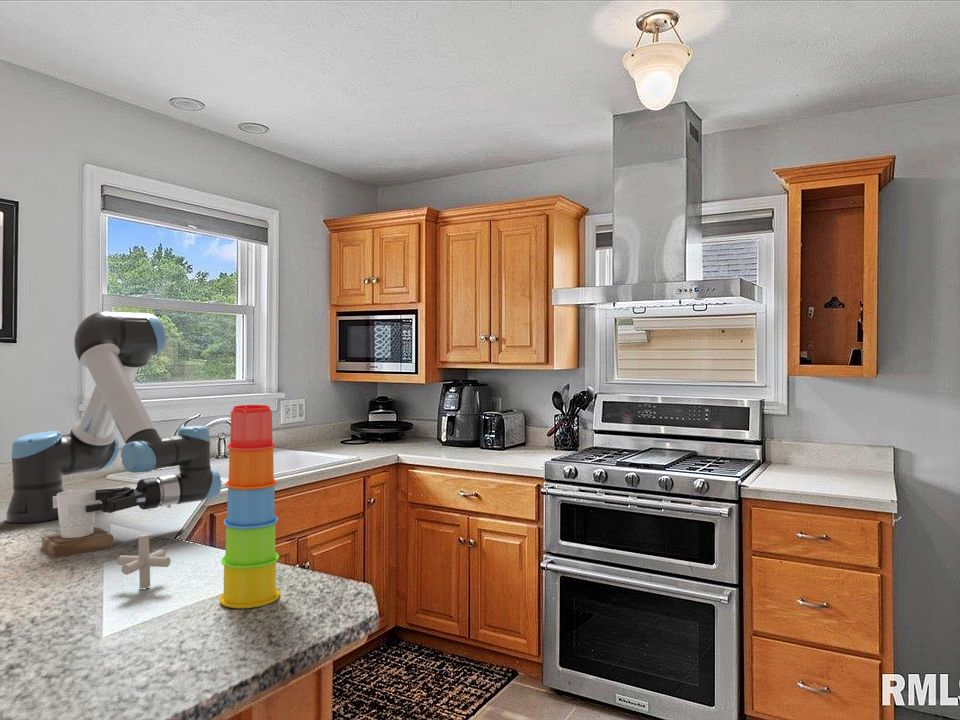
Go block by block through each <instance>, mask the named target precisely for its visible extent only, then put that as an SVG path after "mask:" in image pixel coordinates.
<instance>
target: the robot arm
mask: <svg viewBox="0 0 960 720" xmlns="http://www.w3.org/2000/svg"><path fill="white" fill-rule="evenodd" d="M166 337H167V336H166V331H165V326H164V324H163V323H162V321H161V320H160V319H159V317H157V316H156V315H154V314H152V313H146V312H145V313H144V312H122V311H121V312H118V311H98V312H94V313H92V314H90V315H88V316H86V317H85V318H84V319H83V320H82V321H81V323H79V325H78V327H77V328H76V331H75V334H74V340H73V342H74V343H73V345H74V352H75V354H76V357H77V359H78V361H79V364H80V365H81V366H82V367H84V368H86V369H88V371H89V373H90V375H91V377H92V380H93V381H94V383H95V385H94V389H93V391H92V392H91V396H90V399H89V400H88V404H87V406H86V408H85V410H84V414H83V416H82V419H81V420H78V421H76V422H75V423H74V424H73V425H72V427H71V429H70V430H71V431H70V432H69V433H68V434H61V432H60V430H47V431H43V432H40V431H39V432H36V433H35V432H34V433H29V434H25V435H23V436H20V437H18V438H16V439H15V440H14V441H13V442H12V447H11V448H12V449H11V455H10V456H11V463H12V465H11V466H12V486H13V491H12V495H11V498H10V502H9V504H8V507H7V510H6V514H5V515H6V517H5V518H6V523H10V524H28V523H39V522H45V521H52V520H58V519H59V517H58V506H57V494H58V493H60V492H64V491H65V490H64V488H63V477H64V476H67V475H69V476H70V475H76V474H83V473H89V472H98V471H100V470H104V469H107V468H109V467H110V466H112V465H113V463H114V462H115V461H116V460H117V457H118V455H119V450H120V449H119V448H118V447H119V446H120V444H119V439H118V437H117V435H116V431H115V430H114V427H115V426H116V428H117V429H118V432H119V433H120V435H121V437H122V439H123V441H124V443H125V444H124V445H123V447H122V449H121V453H120V458H121V459H122V460H121V464H122V466H123V467H124V468H125V470H126V471H127V472H130V473H134V474H135V473H148V472H152V471H155V470H160V469H164V468H165V469H166V468H173V467H179V469H178V471H179V473H178V474H169V475H162V476H156V477H150V478H141V479H139V480H138V481H137V484H136V487H135V488H131V487H130V486H129V487H128V486H124V487H117V488H100V489H95V490H96V497H95V501H89V502H83V503H76V504H69V505H68V517H74V516H80V515H86V514H93V513H95V514H99V513H107V514H112V513H114V512H118V511H123V510H126V509H130V508H134V507H139V508H140V509H141V510H143V511H145V510H151V509H156V508H158V507H160V508H163V507H166V508H168V509H169V508H171V507H172V505H174V506H175V505H180V504H188V503H194V502H203V501H206V500H211V499H214V498H217V497H219V495H220V494H221V491H222V485H223V484H222V483H223V482H222V479H221V474H220V473H219V471H217V470H216V469H212V467H211V438H210V437H211V436H210V435H211V434H210V430H209V428H208V427H207V426H205V425H187V426H182V427H180V428H179V429H178V431H177V433H178V434H177V435H175V436H167V437H161V436H160V435H159V433H158V431H157V429H156V427H155V425H154V423H153V421H152V420H151V418H150V416H149V414H148V411H147V410H146V408H145V405H144V404H143V402H142V400H141V398H140V396H139V394H138V392H137V390H136V389H135V386H134V384H133V383H134V380H135V378H136V376H137V373H138V371H139V369H141V368H143V367H146V365H147V364H148V362H149V360H150V357H151V356H157V355H158V354H161V353H162V352H163V351H164V348H165V345H166Z"/></svg>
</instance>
